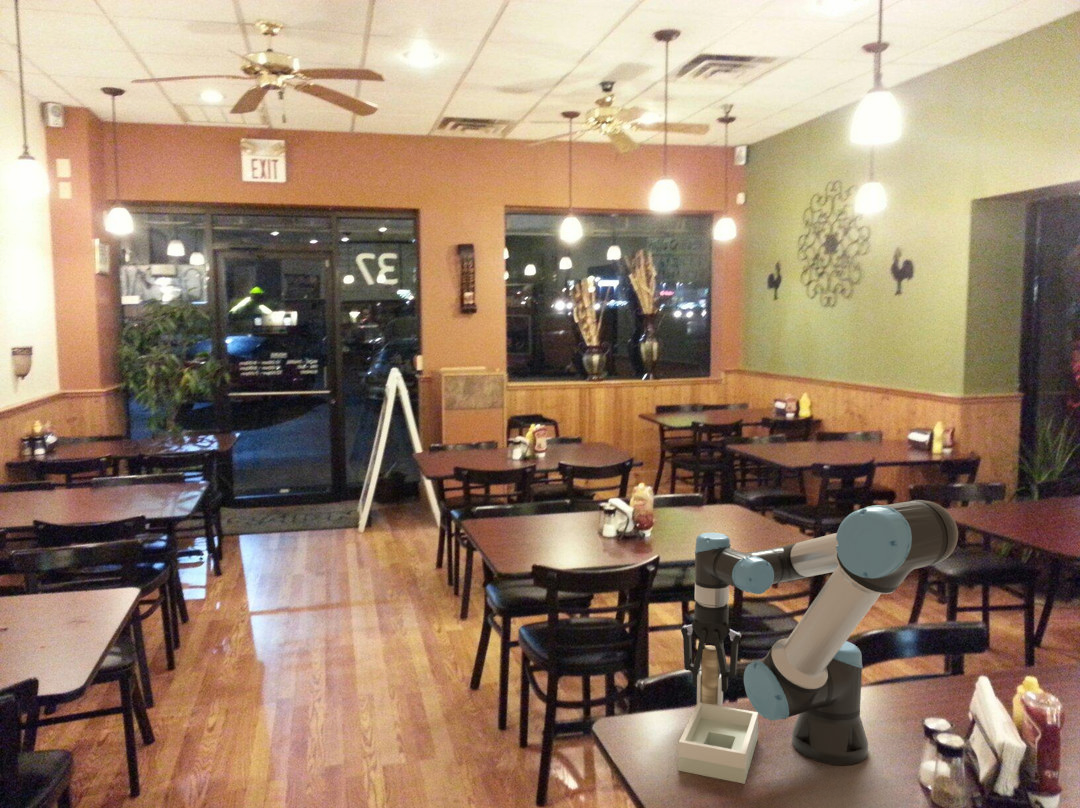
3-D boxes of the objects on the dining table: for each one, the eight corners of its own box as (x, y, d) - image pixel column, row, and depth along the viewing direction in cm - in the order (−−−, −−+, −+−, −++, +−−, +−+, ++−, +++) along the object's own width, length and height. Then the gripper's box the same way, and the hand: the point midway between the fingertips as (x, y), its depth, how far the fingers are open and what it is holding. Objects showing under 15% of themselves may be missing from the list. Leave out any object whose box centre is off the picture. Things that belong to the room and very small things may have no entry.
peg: (719, 714, 189) (721, 646, 188) (716, 722, 186) (718, 653, 184) (702, 711, 191) (703, 644, 189) (699, 719, 187) (700, 650, 186)
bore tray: (757, 739, 178) (758, 712, 177) (744, 783, 160) (745, 754, 160) (697, 728, 183) (697, 702, 182) (678, 770, 165) (678, 741, 165)
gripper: (752, 601, 186) (750, 701, 188) (677, 592, 192) (676, 689, 195) (747, 612, 179) (745, 716, 181) (670, 602, 186) (669, 703, 188)
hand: (709, 702), depth 188 cm, fingers closed on peg, 4 cm apart
